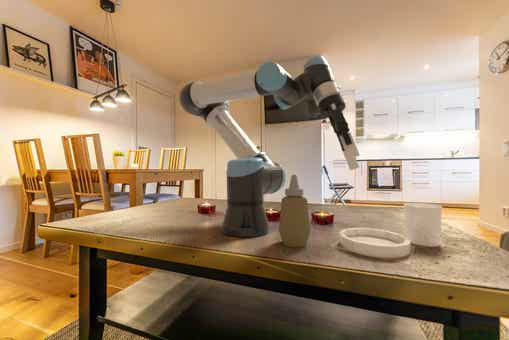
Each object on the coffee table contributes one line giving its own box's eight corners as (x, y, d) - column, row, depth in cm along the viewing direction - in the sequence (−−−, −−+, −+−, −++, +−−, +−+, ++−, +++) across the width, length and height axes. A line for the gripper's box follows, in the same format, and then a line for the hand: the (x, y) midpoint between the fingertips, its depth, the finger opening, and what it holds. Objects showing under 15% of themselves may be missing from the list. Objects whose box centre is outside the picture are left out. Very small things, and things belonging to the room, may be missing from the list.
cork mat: (329, 248, 54) (329, 246, 54) (348, 235, 64) (348, 234, 64) (409, 266, 43) (409, 264, 43) (415, 247, 54) (415, 246, 54)
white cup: (450, 249, 53) (449, 207, 53) (413, 247, 54) (412, 207, 54) (430, 239, 60) (430, 203, 60) (398, 238, 62) (398, 202, 62)
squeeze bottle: (316, 244, 57) (315, 174, 57) (301, 253, 51) (300, 175, 51) (288, 238, 62) (288, 174, 63) (272, 245, 56) (272, 175, 56)
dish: (330, 247, 53) (330, 237, 53) (350, 234, 65) (350, 225, 65) (406, 264, 43) (405, 251, 43) (413, 245, 55) (413, 234, 55)
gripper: (338, 70, 56) (371, 144, 49) (343, 113, 78) (367, 168, 71) (309, 84, 58) (337, 156, 52) (322, 122, 81) (343, 176, 74)
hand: (354, 163), depth 61 cm, fingers open, 13 cm apart
